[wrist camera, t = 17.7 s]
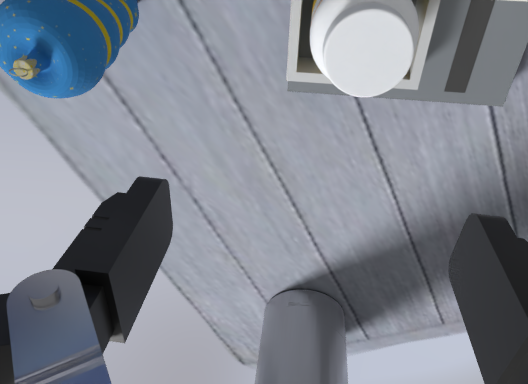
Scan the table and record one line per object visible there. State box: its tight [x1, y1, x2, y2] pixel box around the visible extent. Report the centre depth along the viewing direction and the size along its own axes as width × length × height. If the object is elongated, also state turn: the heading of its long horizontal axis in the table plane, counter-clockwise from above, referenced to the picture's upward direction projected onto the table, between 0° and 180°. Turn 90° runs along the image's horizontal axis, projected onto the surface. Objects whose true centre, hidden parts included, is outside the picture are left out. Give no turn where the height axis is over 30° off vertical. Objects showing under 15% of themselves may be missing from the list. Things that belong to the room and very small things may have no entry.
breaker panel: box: [286, 0, 528, 107], centre depth 26 cm, size 12×15×6 cm
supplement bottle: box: [310, 0, 419, 97], centre depth 22 cm, size 5×5×10 cm
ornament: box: [0, 0, 139, 98], centre depth 24 cm, size 5×5×15 cm
